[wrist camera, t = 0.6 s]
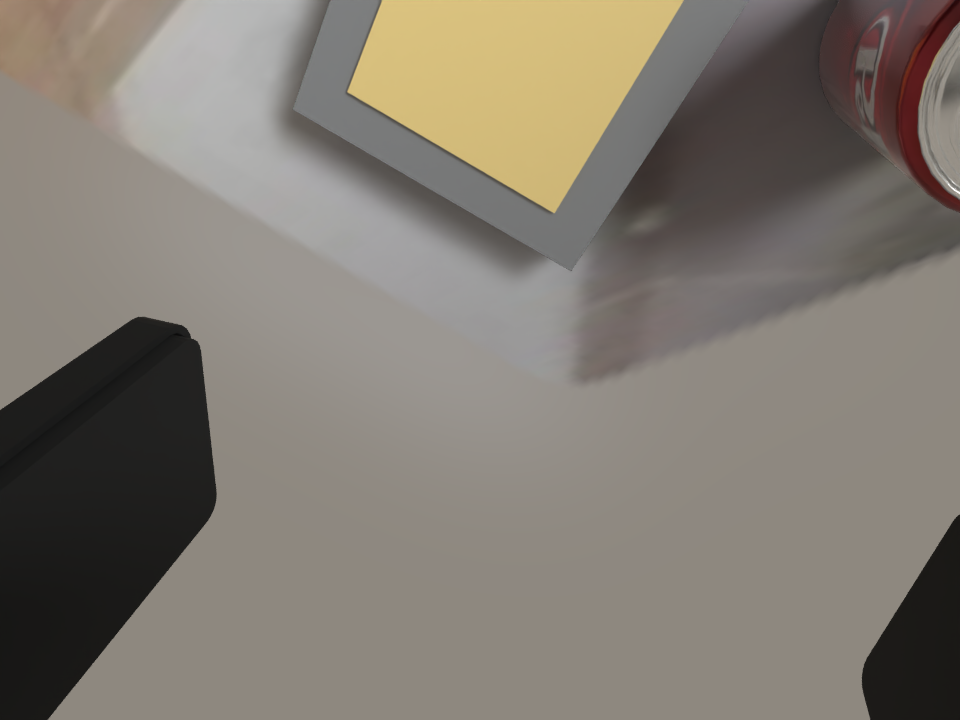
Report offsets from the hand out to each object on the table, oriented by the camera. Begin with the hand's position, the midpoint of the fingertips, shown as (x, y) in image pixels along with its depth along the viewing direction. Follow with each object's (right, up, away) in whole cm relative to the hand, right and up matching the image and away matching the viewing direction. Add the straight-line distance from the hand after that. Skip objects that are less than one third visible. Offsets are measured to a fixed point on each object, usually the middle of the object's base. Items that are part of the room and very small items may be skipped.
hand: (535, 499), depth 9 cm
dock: (+1, +16, +22) cm, 27 cm away
